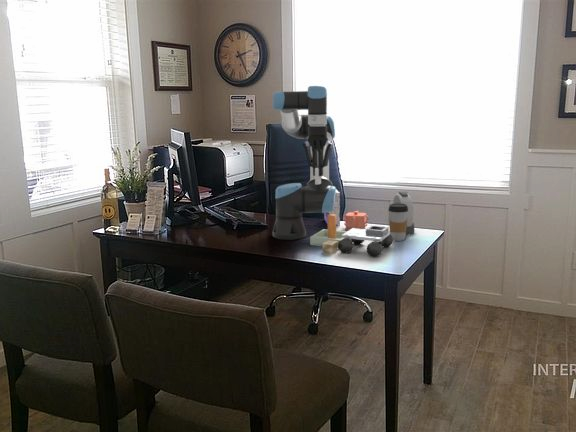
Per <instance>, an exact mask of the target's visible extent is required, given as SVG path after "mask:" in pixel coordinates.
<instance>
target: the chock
mask: <svg viewBox="0 0 576 432" xmlns="http://www.w3.org/2000/svg"><path fill="white" fill-rule="evenodd" d="M338 250H339V248H338V241H331V240H328V241H327V242H325V243H323V246H322V254H326V255H333V254H335V253H337V251H338Z"/></svg>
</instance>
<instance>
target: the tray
mask: <svg viewBox="0 0 576 432" xmlns="http://www.w3.org/2000/svg"><path fill="white" fill-rule="evenodd" d="M346 232H347V231H346V230H345V231H344V230H336V239H332V238H328V229H324V228H323V229H321V230H320V231H318V232H316V233H315V234H313V235H311V236H309V239H310V240H309V244H310V246H317V247H323V243H325V242H327V241H328V240H331V241H338V243H339V241H341V240H342V239H344V238H342V234H344V233H346ZM348 239H350V238H348ZM350 240H351V239H350Z"/></svg>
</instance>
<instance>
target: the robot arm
mask: <svg viewBox="0 0 576 432" xmlns="http://www.w3.org/2000/svg"><path fill="white" fill-rule="evenodd" d="M327 91H328V90H327V86H326V85H309V86H308V87H307V90H305V91H304V90H303V91H302V90H300V91H290V90H289V91H283V90H281V91H275V92H273V94H272V107H273V110H274V111H279V112H280V116H281V121H280V122H281V127H282V129H283V131H284V132H285V133H286V134H287V135H289V136H291V137H293V138H296V139H297V140H299V139H301V140H306V141H304V142H303V143H302V147H303V148H304V151H305V156H306V160H307V164H308V167H310V170H309V171H310V174H309V175H310V179H309V181H308V182H307V183H306V186H303V184H302V183H300V182H293V183H286V184H281V185H279V186H277V187H276V189H275V197H274V198H275V222H274V225H273V228H272V237H273V238H275V239H277V240H285V241H288V240H289V241H292V240H299V239H303V238H305V237H307V229H306V226H305V224H304V220H303V214H324V213H328V212H332V211H333V210H334V205H335V196H336V189H337V187H336V186H334V185H333V182H332V181H331V180H330V156H331V152H332V148H333V146H334V142H332V139H335V136H336V135H335V134H336V133H335V132H336V131H335V130H336V129H335V122H334V118H333V116H332V115H331V114H328V113H327V112H328V111H327V110H328V109H327V108H328V107H327V106H328V92H327ZM302 110H303V111H308V112H307V114H299V111H302Z"/></svg>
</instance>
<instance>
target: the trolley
mask: <svg viewBox="0 0 576 432" xmlns="http://www.w3.org/2000/svg"><path fill="white" fill-rule="evenodd" d="M342 238H344V239H342V240H341V241H339V243H338V250H339V251H340V253H341V254H349V253H350V252H352V251H353V249H354V245H361V244H363V243H364V242H365V241H368V242H369V241H370V243H369V244H367V247H366V252H367V254H368V255H369V256H370V257H373V258H377V257H379V256H380V255H381V254H382V253H383V250H384V249H383V248H385V249H386V248H389V247H390V246H392V245H393V242H394V240H393V237H392V236H391V235H390V227H389V226H384V225H383V226H381V225H372V224H371V225H370V226H369V227H366V228H364V229H358V228H352V229H350V230H349V229H348V230H347V231H346V233H344V234H342ZM348 238H350V239H351V240H350V239H348Z"/></svg>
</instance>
